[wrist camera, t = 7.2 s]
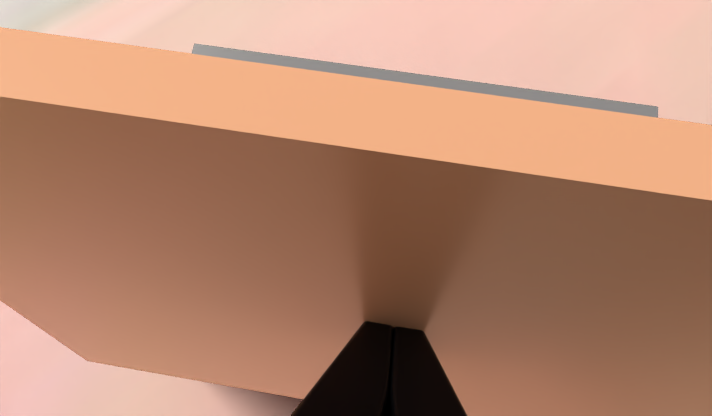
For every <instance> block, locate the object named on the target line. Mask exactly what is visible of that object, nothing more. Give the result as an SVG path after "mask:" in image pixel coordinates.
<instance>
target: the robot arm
mask: <svg viewBox="0 0 712 416" xmlns="http://www.w3.org/2000/svg"><path fill="white" fill-rule="evenodd" d="M291 416H467V414H466V412H465V410H464V408H463V406H462V404H461V402H460V400H459V398H458V397H457V395H456V393H455V391H454V389H453V387H452V385H451V383H450V381H449V379H448V377H447V375H446V373H445V371H444V369H443V367H442V365H441V364H440V362H439V360H438V358H437V356H436V354H435V352H434V350H433V348H432V346H431V344H430V342H429V340H428V338H427V336H426V334H425V333H424V331H422V330H417V329H411V328H405V327H395V328H394V329H393V326H391V325H387V324H381V323H375V322H369V321H365V322H363V323H362V325H361V326H360V327H359V329H358V330H357V331H356V332H355V334H354V335H353V336H352V338H351V339H350V340H349V341H348V343H347V344H346V345H345V347H344V348H343V349H342V350H341V352H340V353H339V354H338V355H337V357H336V358H335V359H334V361H333V362H332V363H331V364H330V366H329V367H328V368H327V370H326V371H325V372H324V373H323V375H322V376H321V377H320V379H319V380H318V381H317V382H316V384H315V385H314V386H313V388H312V389H311V390H310V391H309V393H308V394H307V395H306V397H305V398H304V399H303V400H302V402H301V403H300V404H299V405H298V407H297V408H296V409H295V411H294V412H293V413H292V414H291Z"/></svg>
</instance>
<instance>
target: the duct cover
mask: <svg viewBox="0 0 712 416" xmlns="http://www.w3.org/2000/svg"><path fill="white" fill-rule="evenodd" d="M0 301H2V302H3V303H5V304H6V305H8V306H9V307H11V308H12V309H13V310H15V311H16V312H18V313H19V314H21V315H22V316H23V317H25V318H26V319H28V320H29V321H31V322H32V323H33V324H35V325H36V326H38V327H39V328H41V329H42V330H44V331H45V332H46V333H48V334H49V335H51V336H52V337H54V338H55V339H56V340H58V341H59V342H61V343H62V344H64V345H65V346H66V347H68V348H69V349H71V350H72V351H74V352H75V353H76V354H78V355H79V356H81V357H82V358H84V359H85V360H87V361H90V362H96V363H102V364H107V365H113V366H118V367H124V368H130V369H135V370H141V371H147V372H152V373H158V374H163V375H169V376H175V377H180V378H186V379H192V380H197V381H203V382H208V383H214V384H220V385H225V386H231V387H237V388H242V389H248V390H253V391H259V392H265V393H270V394H276V395H282V396H287V397H293V398H298V399H304V398H305V397H306V395H307V394H308V393H309V391H310V390H311V389H312V388H313V386H314V385H315V384H316V382H317V381H318V380H319V379H320V377H321V376H322V375H323V373H324V372H325V371H326V370H327V368H328V367H329V366H330V364H331V363H332V362H333V361H334V359H335V358H336V357H337V355H338V354H339V353H340V352H341V350H342V349H343V348H344V347H345V345H346V344H347V343H348V341H349V340H350V339H351V338H352V336H353V335H354V334H355V332H356V331H357V330H358V329H359V327H360V326H361V325H362V323H363V322H365V321H369V322H375V323H381V324H387V325H391V326H393V329H394V328H395V327H405V328H411V329H417V330H422V331H424V333H425V334H426V336H427V338H428V340H429V342H430V344H431V346H432V348H433V350H434V352H435V354H436V356H437V358H438V360H439V362H440V364H441V365H442V367H443V369H444V371H445V373H446V375H447V377H448V379H449V381H450V383H451V385H452V387H453V389H454V391H455V393H456V395H457V397H458V398H459V400H460V402H461V404H462V406H463V408H464V410H465V412H466V414H467V416H712V125H707V124H700V123H693V122H685V121H678V120H671V119H663V118H656V117H649V116H642V115H634V114H627V113H620V112H613V111H605V110H598V109H591V108H583V107H576V106H569V105H562V104H554V103H547V102H540V101H533V100H525V99H518V98H511V97H503V96H496V95H489V94H482V93H474V92H467V91H460V90H452V89H445V88H438V87H431V86H423V85H416V84H409V83H402V82H394V81H387V80H380V79H372V78H365V77H358V76H351V75H343V74H336V73H329V72H322V71H314V70H307V69H300V68H292V67H285V66H278V65H271V64H263V63H256V62H249V61H241V60H234V59H227V58H220V57H212V56H205V55H198V54H191V53H183V52H176V51H169V50H161V49H154V48H147V47H140V46H132V45H125V44H118V43H111V42H103V41H96V40H89V39H81V38H74V37H67V36H60V35H52V34H45V33H38V32H30V31H23V30H16V29H9V28H1V27H0Z"/></svg>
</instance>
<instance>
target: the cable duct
mask: <svg viewBox="0 0 712 416" xmlns="http://www.w3.org/2000/svg"><path fill="white" fill-rule="evenodd" d="M192 54H198V55H205V56H212V57H220V58H227V59H234V60H241V61H249V62H256V63H263V64H271V65H278V66H285V67H292V68H300V69H307V70H314V71H322V72H329V73H336V74H343V75H351V76H358V77H365V78H372V79H380V80H387V81H394V82H402V83H409V84H416V85H423V86H431V87H438V88H445V89H452V90H460V91H467V92H474V93H482V94H489V95H496V96H503V97H511V98H518V99H525V100H533V101H540V102H547V103H554V104H562V105H569V106H576V107H583V108H591V109H598V110H605V111H613V112H620V113H627V114H634V115H642V116H649V117H656V118H658V107H657V106H649V105H642V104H635V103H627V102H620V101H613V100H605V99H598V98H591V97H583V96H576V95H568V94H561V93H554V92H546V91H539V90H532V89H524V88H517V87H510V86H502V85H495V84H488V83H480V82H473V81H466V80H458V79H451V78H444V77H436V76H429V75H422V74H414V73H407V72H400V71H392V70H385V69H377V68H370V67H363V66H355V65H348V64H341V63H333V62H326V61H319V60H311V59H304V58H297V57H289V56H282V55H275V54H267V53H260V52H253V51H245V50H238V49H231V48H223V47H216V46H209V45H201V44H194V47H193V50H192Z"/></svg>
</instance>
